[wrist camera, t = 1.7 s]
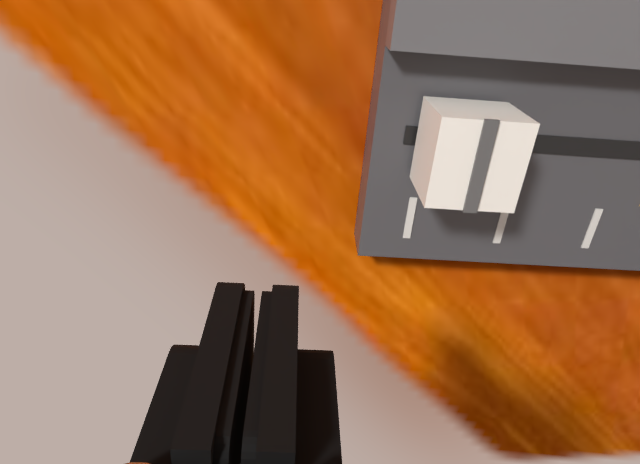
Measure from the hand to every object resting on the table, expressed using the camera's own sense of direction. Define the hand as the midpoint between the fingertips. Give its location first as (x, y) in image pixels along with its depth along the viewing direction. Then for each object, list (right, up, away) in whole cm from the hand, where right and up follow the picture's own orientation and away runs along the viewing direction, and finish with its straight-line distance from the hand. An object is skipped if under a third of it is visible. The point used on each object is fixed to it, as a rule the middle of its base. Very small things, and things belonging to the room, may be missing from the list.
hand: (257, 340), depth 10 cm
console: (+14, +8, +16) cm, 23 cm away
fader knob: (+8, +7, +13) cm, 17 cm away
